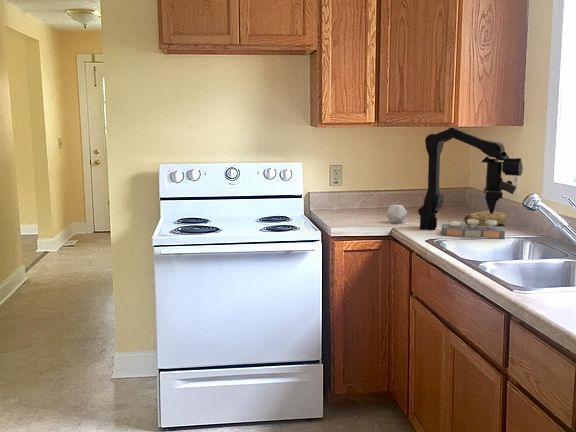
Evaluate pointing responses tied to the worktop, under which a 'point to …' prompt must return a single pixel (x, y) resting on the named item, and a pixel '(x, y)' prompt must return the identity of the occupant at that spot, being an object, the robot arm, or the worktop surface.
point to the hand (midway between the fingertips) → (491, 213)
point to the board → (473, 231)
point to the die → (396, 214)
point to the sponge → (486, 217)
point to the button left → (454, 224)
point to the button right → (490, 223)
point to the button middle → (472, 222)
